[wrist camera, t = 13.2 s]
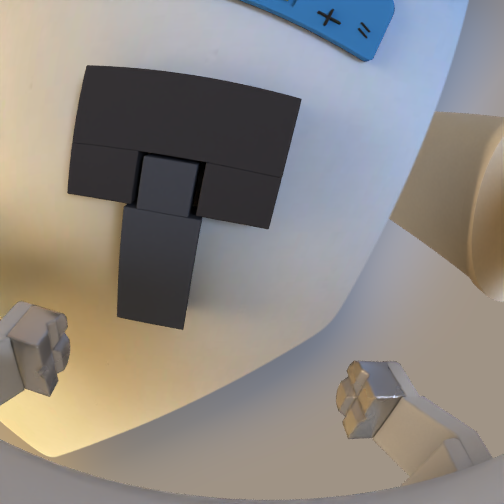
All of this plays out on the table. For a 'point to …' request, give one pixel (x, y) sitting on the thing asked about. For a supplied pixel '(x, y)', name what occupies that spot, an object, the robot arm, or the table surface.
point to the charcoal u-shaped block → (182, 138)
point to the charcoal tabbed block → (159, 243)
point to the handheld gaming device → (338, 20)
